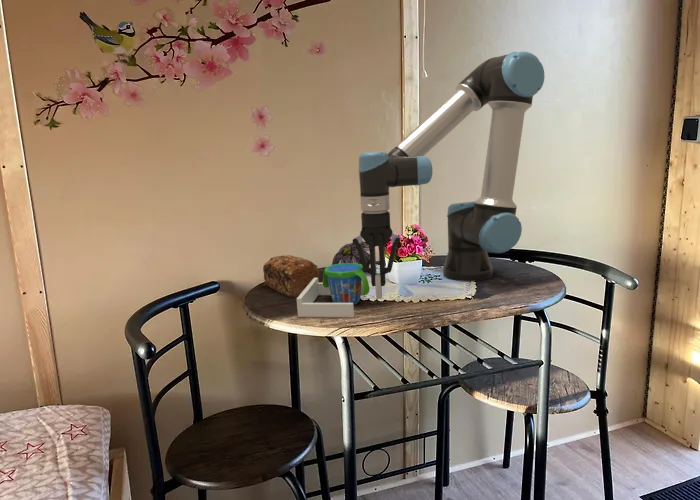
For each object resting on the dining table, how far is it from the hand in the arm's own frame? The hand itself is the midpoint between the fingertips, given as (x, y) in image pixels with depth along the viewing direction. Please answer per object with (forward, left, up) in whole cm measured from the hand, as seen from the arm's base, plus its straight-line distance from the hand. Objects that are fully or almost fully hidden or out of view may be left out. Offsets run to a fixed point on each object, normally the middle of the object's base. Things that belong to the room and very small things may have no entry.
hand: (379, 297), depth 148 cm
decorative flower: (+12, -30, -2) cm, 33 cm away
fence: (+12, +1, -2) cm, 13 cm away
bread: (+29, -15, -2) cm, 33 cm away
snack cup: (+9, -1, -2) cm, 10 cm away
